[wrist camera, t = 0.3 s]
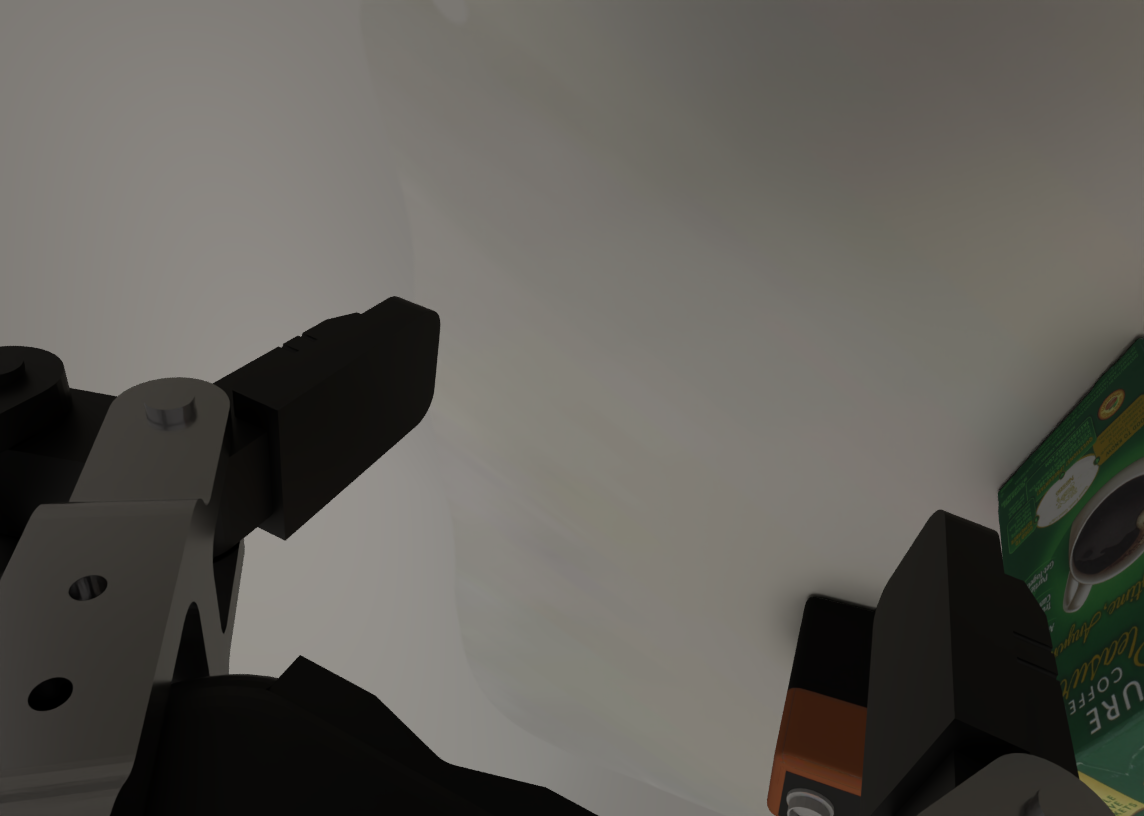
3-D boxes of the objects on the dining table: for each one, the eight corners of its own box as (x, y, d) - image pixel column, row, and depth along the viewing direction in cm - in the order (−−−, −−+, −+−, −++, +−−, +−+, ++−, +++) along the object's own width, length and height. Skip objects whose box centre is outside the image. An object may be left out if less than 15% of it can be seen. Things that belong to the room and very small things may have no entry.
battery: (942, 690, 35) (942, 906, 27) (797, 649, 37) (759, 836, 29) (964, 629, 32) (970, 846, 25) (807, 589, 35) (769, 776, 27)
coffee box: (1060, 528, 28) (1126, 863, 18) (987, 495, 28) (1012, 803, 18) (1228, 367, 23) (1448, 707, 13) (1136, 330, 23) (1279, 630, 13)
